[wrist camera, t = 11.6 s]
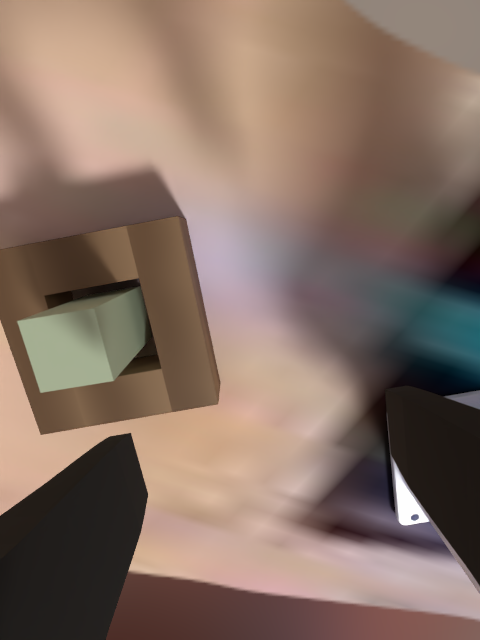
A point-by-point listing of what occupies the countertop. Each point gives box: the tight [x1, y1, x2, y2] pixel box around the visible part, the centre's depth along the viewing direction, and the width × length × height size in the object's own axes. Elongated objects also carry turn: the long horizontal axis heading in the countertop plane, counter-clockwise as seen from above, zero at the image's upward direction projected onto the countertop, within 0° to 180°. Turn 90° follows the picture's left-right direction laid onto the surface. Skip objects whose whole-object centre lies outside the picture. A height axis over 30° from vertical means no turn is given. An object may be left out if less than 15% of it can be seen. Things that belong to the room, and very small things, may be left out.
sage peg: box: [17, 286, 152, 393], centre depth 15 cm, size 3×3×6 cm
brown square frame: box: [0, 216, 220, 435], centre depth 17 cm, size 9×9×2 cm
